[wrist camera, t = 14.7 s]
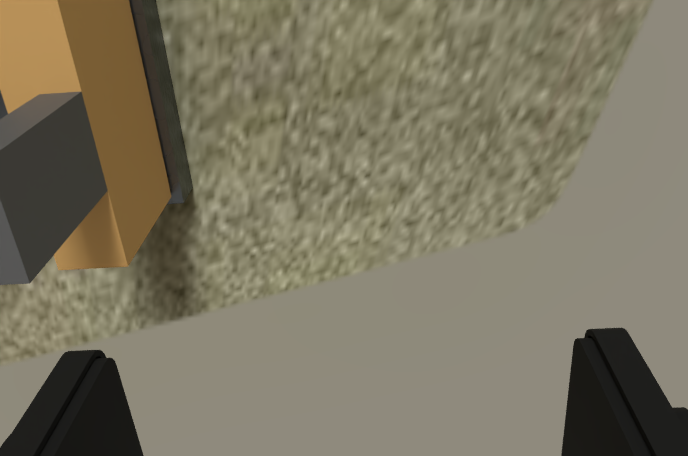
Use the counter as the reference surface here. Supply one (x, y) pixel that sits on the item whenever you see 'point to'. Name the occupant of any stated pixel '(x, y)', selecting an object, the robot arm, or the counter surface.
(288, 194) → the counter surface
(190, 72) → the counter surface
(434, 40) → the counter surface
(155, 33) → the vise
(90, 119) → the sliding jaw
